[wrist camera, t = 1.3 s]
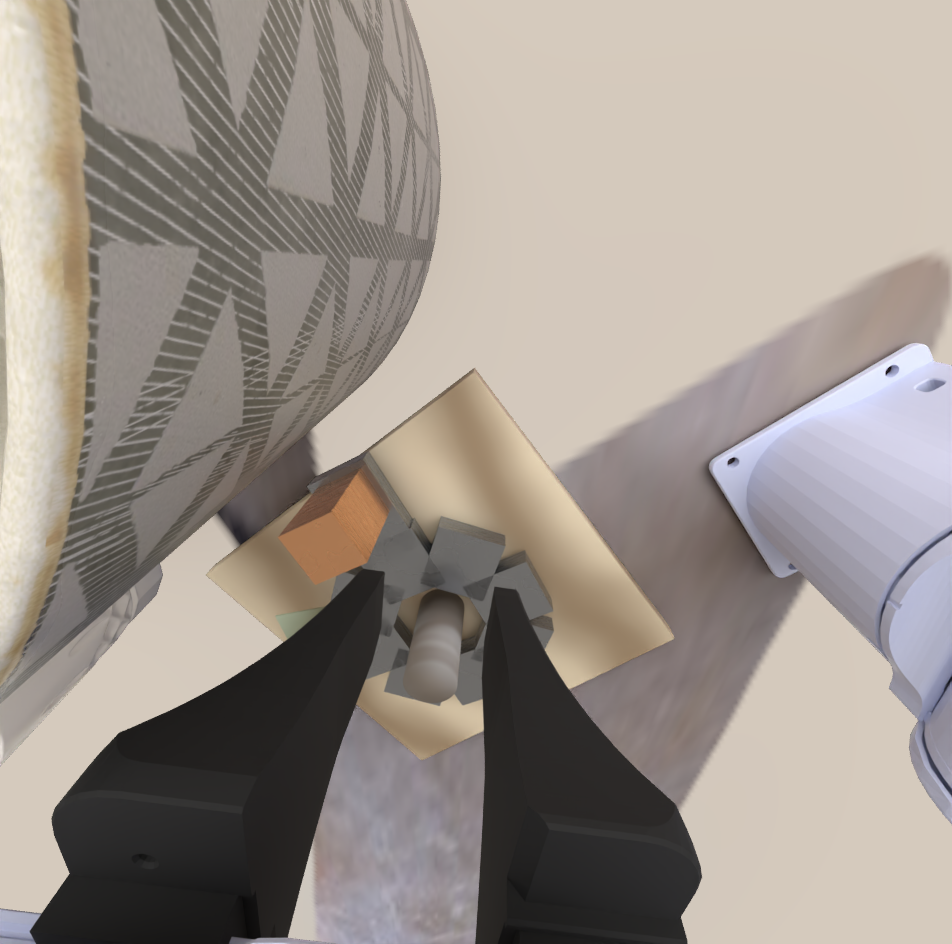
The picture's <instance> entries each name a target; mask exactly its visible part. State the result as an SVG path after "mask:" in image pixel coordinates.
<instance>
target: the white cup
mask: <svg viewBox="0 0 952 944" xmlns="http://www.w3.org/2000/svg"><path fill="white" fill-rule="evenodd" d="M162 576H163V574H162V570H161V566H160V563H159V564H158V565H157V566H156V567H155V568H154V569H152V570H151V571H150V572H149V573H148V574H147V575H146V576H144V577H143V578H142V579H141V580H140V581H139V582H138V583H137V584H135V585H134V586H133V587H132V588H131V589H130V590H129V591H127V592H126V593H125V594H124V595H123V596H122V597H121V598H120V599H118V600H117V601H116V602H115V603H114V604H113V605H112V606H110V607H109V608H108V609H107V610H106V611H105V612H104V613H103V614H101V615H100V616H99V617H98V618H97V619H96V620H95V621H94V622H92V623H91V624H90V625H89V626H88V627H87V628H86V629H84V630H83V631H82V632H81V633H80V634H79V635H78V636H77V637H75V638H74V639H73V640H72V641H71V642H70V643H69V644H67V645H66V646H65V647H64V648H63V649H62V650H61V651H60V652H58V653H57V654H56V655H55V656H54V657H53V658H52V659H50V660H49V661H48V662H47V663H46V664H45V665H44V666H43V667H41V668H40V669H39V670H38V671H37V672H36V673H35V674H33V675H32V676H31V677H30V678H29V679H28V680H27V681H26V682H24V683H23V684H22V685H21V686H20V687H19V688H18V689H16V690H15V691H14V692H13V693H12V694H11V695H10V696H9V697H7V698H6V699H5V700H4V701H3V702H2V703H1V704H0V766H1V765H2V764H3V763H4V762H5V761H6V760H7V759H8V757H9V756H10V755H11V754H12V753H13V752H14V751H15V750H16V749H17V748H18V747H19V745H21V743H22V742H23V741H24V740H25V739H26V738H27V737H28V736H29V735H30V734H31V733H32V732H33V731H34V729H35V728H36V727H37V726H38V725H39V724H40V723H41V722H42V721H43V720H44V719H45V718H46V717H47V715H48V714H49V713H50V712H51V711H52V710H53V709H54V708H55V707H56V706H57V705H58V703H60V702H61V700H62V699H63V698H64V697H65V696H66V695H67V694H68V693H69V692H70V691H71V690H72V689H73V688H74V686H75V685H76V684H77V683H78V682H79V681H80V680H81V679H82V678H83V677H84V676H85V675H86V674H87V673H88V671H89V670H90V669H91V668H92V667H93V666H94V665H95V663H96V662H97V661H98V659H99V658H100V657H101V656H102V655H103V654H104V653H105V652H106V651H107V650H108V649H109V648H110V647H111V646H112V644H113V643H114V642H115V641H116V640H117V639H118V637H119V636H120V635H121V633H122V632H123V631H124V629H125V628H126V626H127V625H128V624H129V623H130V622H131V621H132V620H133V619H134V618H135V617H136V616H137V615H138V614H139V613H140V612H141V610H142V609H143V608H144V607H145V606H146V605H147V604H148V603H149V602H150V601H151V600H152V599H153V598H154V597H155V595H156V594H157V592H158V589H159V585H160V582H161V579H162Z"/></svg>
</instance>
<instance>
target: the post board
mask: <svg viewBox="0 0 952 944" xmlns="http://www.w3.org/2000/svg"><path fill="white" fill-rule="evenodd" d="M367 451H369V452H370V453H371V455H372V456H373V458H374V460H375V461H376V463H377V464H378V466H379V467H380V469H381V470H382V472H383V474H384V475H385V477H386V478H387V480H388V481H389V483H390V484H391V486H392V488H393V489H394V491H395V492H396V494H397V495H398V497H399V498H400V500H401V502H402V503H403V505H404V506H405V508H406V509H407V511H408V512H409V514H410V516H411V517H412V518H414V517H415V519H416V521H417V522H418V524H419V525H420V527H421V528H422V530H423V531H424V533H425V535H426V536H427V538H428V539H429V541H430V542H431V544H432V542H433V539H434V536H435V533H436V530H437V527H438V524H439V521H440V518H441V516H443V517H446V518H450V519H453V520H456V521H460V522H463V523H466V524H470V525H473V526H477V527H480V528H483V529H487V530H490V531H493V532H497V533H500V534H503V535H505V544H506V547H505V549H504V551H503V554H502V556H501V559H500V560H502V559H504V558H507V557H509V556H512V555H514V554H516V553H519V552H521V551H524V550H525V551H526V553H527V555H528V557H529V558H530V560H531V562H532V564H533V566H534V567H535V569H536V571H537V573H538V575H539V577H540V578H541V580H542V582H543V584H544V586H545V587H546V589H547V591H548V593H549V595H550V596H551V599H552V605H553V612H550V613H547V614H545V615H544V616H548V617H551V618H552V622H553V628H554V632H553V634H552V636H551V638H550V640H549V642H548V644H547V646H546V648H545V651H546V653H547V655H548V657H549V659H550V660H551V662H552V664H553V665H554V667H555V669H556V670H557V672H558V674H559V675H560V677H561V678H562V680H563V681H564V683H565V684H566V686H567V687H568V689H571V688H573V687H575V686H578V685H580V684H582V683H584V682H586V681H588V680H590V679H592V678H594V677H596V676H598V675H600V674H602V673H605V672H607V671H609V670H611V669H613V668H615V667H617V666H619V665H621V664H623V663H625V662H627V661H629V660H631V659H634V658H636V657H638V656H640V655H642V654H644V653H646V652H648V651H650V650H652V649H654V648H656V647H658V646H661V645H663V644H665V643H667V642H669V641H671V640H673V639H675V638H674V636H673V634H672V631H671V629H670V627H669V625H668V624H667V623H666V621H665V620H664V619H663V617H662V616H661V615H660V613H659V612H658V611H657V609H656V608H655V607H654V605H653V604H652V603H651V601H650V600H649V599H648V597H647V596H646V595H645V593H644V592H643V591H642V589H641V588H640V587H639V585H638V584H637V583H636V581H635V580H634V579H633V578H632V576H631V575H630V574H629V572H628V571H627V570H626V568H625V567H624V566H623V564H622V563H621V562H620V560H619V559H618V558H617V556H616V555H615V554H614V552H613V551H612V550H611V548H610V547H609V546H608V544H607V543H606V542H605V540H604V539H603V538H602V536H601V535H600V534H599V532H598V531H597V530H596V528H595V527H594V526H593V524H592V523H591V522H590V520H589V519H588V518H587V516H586V515H585V514H584V512H583V511H582V510H581V508H580V507H579V506H578V505H577V503H576V502H575V501H574V499H573V498H572V497H571V495H570V494H569V493H568V491H567V490H566V489H565V487H564V486H563V485H562V483H561V482H560V481H559V479H558V478H557V477H556V475H555V474H554V473H553V471H552V470H551V469H550V467H549V466H548V465H547V464H546V462H545V461H544V460H543V458H542V457H541V455H540V454H539V453H538V451H537V450H536V449H535V447H534V446H533V445H532V443H531V442H530V441H529V439H528V438H527V437H526V436H525V434H524V433H523V431H522V430H521V429H520V428H519V426H518V425H517V424H516V422H515V421H514V420H513V418H512V417H511V416H510V414H509V413H508V412H507V410H506V409H505V408H504V406H503V405H502V404H501V402H500V401H499V400H498V398H497V397H496V396H495V394H494V393H493V392H492V390H491V389H490V388H489V386H488V385H487V384H486V382H485V381H484V380H483V378H482V377H481V376H480V374H479V373H478V372H477V370H476V369H475V368H474V369H472V370H471V371H470V372H469V373H467V374H466V375H465V376H463V377H462V378H461V379H459V380H458V381H457V382H455V383H454V384H453V385H451V386H450V387H449V388H447V389H446V390H445V391H443V392H442V393H441V394H439V395H438V396H437V397H435V398H434V399H433V400H432V401H430V402H429V403H428V404H426V405H425V406H424V407H422V408H421V409H420V410H418V411H417V412H416V413H414V414H413V415H412V416H410V417H409V418H408V419H407V420H405V421H404V422H403V423H401V424H400V425H399V426H397V427H396V428H395V429H393V430H392V431H391V432H389V433H388V434H387V435H385V436H384V437H383V438H381V439H380V440H379V441H378V442H376V443H375V444H373V445H372V446H371V447H370V448H368V449H367V450H366V451H364V452H363V453H365V452H367ZM363 453H362V454H363ZM360 455H361V454H360ZM311 495H312V493H311V492H310V493H309V494H307V495H306V496H305V497H304V498H302V499H301V500H300V501H298V502H297V503H296V504H294V505H293V506H292V507H290V508H289V509H288V510H286V511H285V512H284V513H282V514H281V515H280V516H278V517H277V518H276V519H275V520H273V521H272V522H271V523H269V524H268V525H267V526H265V527H264V528H263V529H261V530H260V531H259V532H257V533H256V534H255V535H253V536H252V537H251V538H249V539H248V540H247V541H245V542H244V543H243V544H242V545H240V546H239V547H238V548H236V549H235V550H234V551H232V552H231V553H230V554H228V555H227V556H226V557H225V558H223V559H222V560H221V561H219V562H218V563H216V564H215V566H213V568H212V569H211V570H210V571H209V572H208V573H207V574H206V576H207V577H208V578H210V579H211V580H212V581H213V582H214V583H215V584H217V585H218V586H219V587H220V588H221V589H222V590H224V591H225V592H226V593H227V594H228V595H229V596H231V597H232V598H233V599H234V600H235V601H236V602H238V603H239V604H240V605H241V606H242V607H243V608H245V609H246V610H247V611H248V612H249V613H250V614H252V615H253V616H254V617H255V618H256V619H258V620H259V621H260V622H261V623H262V624H263V625H264V626H266V627H267V628H268V629H269V630H270V631H271V632H273V633H274V634H275V635H276V636H277V637H278V638H280V639H281V640H282V641H283V642H284V641H286V640H287V639H288V638H290V637H291V636H292V635H293V634H294V633H296V632H297V631H298V630H299V629H300V628H302V627H303V626H304V625H305V624H306V623H308V622H309V621H310V620H311V619H312V618H313V617H314V616H316V615H317V614H318V613H319V612H320V611H321V610H322V609H323V608H324V607H325V606H326V605H327V604H328V603H329V602H330V601H331V597H332V593H333V588H334V584H335V580H336V576H335V577H333V578H330V579H328V580H326V581H324V582H321V583H319V584H317V585H315V584H314V583H313V582H312V580H311V579H310V578H309V577H308V575H307V574H306V573H305V571H304V570H303V569H302V568H301V566H300V565H299V564H298V563H297V561H296V560H295V559H294V557H293V556H292V555H291V554H290V552H289V551H288V550H287V549H286V547H285V546H284V545H283V543H282V542H281V541H280V540H279V538H278V536H279V535H280V534H281V532H282V531H283V530H284V529H285V527H286V526H287V525H288V524H289V522H290V521H291V520H292V519H293V518H294V516H295V515H296V514H297V513H298V511H299V510H300V509H301V508H302V506H303V505H304V504H305V503H306V501H307V500H308V499H309V498H310V496H311ZM398 616H399V617H400V618H401V620H402V621H403V622H404V624H405V625H406V627H407V628H408V629H409V631H410V632H411V634H412V635H413V637H412V642H411V646H410V651H409V655H408V659H407V664H406V668H405V673H404V677H403V686H404V688H405V690H406V692H407V693H408V694H409V695H410V696H412V697H413V698H415V699H417V700H414V699H410V698H406V697H402V696H398V695H394V694H391V693H387V692H384V689H385V685H386V682H387V678H388V675H389V672H390V671H388V672H386V673H383V674H380V675H377V676H375V677H372V678H369V679H366V680H365V682H364V685H363V688H362V690H361V693H360V695H359V698H358V701H357V703H356V705H358V706H359V707H360V708H361V709H362V710H363V711H365V712H366V713H367V714H368V715H369V716H370V717H372V718H373V719H374V720H375V721H376V722H377V723H379V724H380V725H381V726H382V727H383V728H384V729H386V730H387V731H388V732H389V733H390V734H391V735H393V736H394V737H395V738H396V739H397V740H398V741H400V742H401V743H402V744H403V745H404V746H405V747H407V748H408V749H409V750H410V751H411V752H412V753H414V754H415V755H416V756H417V757H418V758H419V759H421V760H424V759H426V758H428V757H430V756H432V755H434V754H436V753H439V752H441V751H443V750H445V749H447V748H449V747H451V746H453V745H455V744H457V743H459V742H461V741H463V740H466V739H468V738H470V737H472V736H474V735H476V734H478V733H480V732H482V731H484V722H483V699H481V700H478V701H475V702H472V703H469V704H466V705H462V704H461V703H460V701H459V700H458V699H457V697H456V696H455V694H454V693H455V692H456V689H457V683H458V672H459V662H460V651H461V641H462V640H465V639H468V638H470V637H473V636H476V634H477V632H478V629H479V627H480V624H481V622H482V620H483V619H482V617H481V615H480V614H479V612H478V611H477V609H476V608H475V606H474V604H473V603H472V601H471V600H470V598H469V597H465V596H462V595H458V594H454V593H451V592H447V591H444V590H440V589H437V588H432V589H429V590H427V591H424V592H422V593H419V594H417V595H414V596H412V597H409V598H407V599H404V600H402V602H401V605H400V608H399V611H398ZM418 700H419V701H418ZM421 701H422V702H421ZM425 702H426V703H425ZM439 702H441V705H440V706H437V705H433V704H429V703H439Z"/></svg>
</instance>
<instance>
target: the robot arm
mask: <svg viewBox="0 0 952 944" xmlns="http://www.w3.org/2000/svg"><path fill="white" fill-rule="evenodd" d="M889 366H892V369H891V371H890V372H889V373H888V374H887V375H885V372H886V370H887V368H888V367H889ZM733 457H735V461H734V462H733V463H732V464H729V465H728V464H727V462H728V460H729V459H730V458H733ZM709 470H710V472H711V474H712V476H713V477H714V479H715V481H716V482H717V484H718V485H719V487H720V489H721V490H722V492H723V494H724V495H725V497H726V498H727V500H728V502H729V503H730V505H731V507H732V508H733V510H734V511H735V513H736V515H737V516H738V518H739V520H740V521H741V523H742V524H743V526H744V528H745V529H746V531H747V533H748V534H749V536H750V537H751V539H752V541H753V542H754V544H755V546H756V547H757V549H758V550H759V552H760V554H761V555H762V557H763V559H764V560H765V562H766V564H767V565H768V567H769V568H770V570H771V571H772V573H773V574H774V575H775V576H776V577H779V578H784V577H787V576H789V575H791V574H793V573H796V572H798V571H799V572H800V573H801V574H802V575H803V576H804V577H805V578H806V579H807V580H808V581H809V582H810V583H811V584H812V585H813V586H814V587H815V588H816V589H817V590H818V591H819V592H820V593H821V594H822V595H823V596H824V597H825V598H826V599H827V600H828V601H829V602H830V603H831V604H832V605H833V606H834V607H835V608H836V609H837V610H838V611H839V612H840V613H841V614H842V615H843V616H844V617H845V618H846V619H847V620H848V621H849V622H850V623H851V624H852V625H853V626H854V627H855V628H856V629H857V630H858V631H859V632H860V633H861V634H862V635H863V636H864V637H865V638H866V639H867V640H868V641H869V643H871V645H872V646H873V647H875V648H876V650H877V651H879V653H880V654H882V656H883V657H884V658H885V659H886V660H887V661H888V662H889V663H890V664H891V666H892V669H893V678H892V681H891V683H890V686H889V689H890V690H891V691H892V692H893V693H894V694H895V695H896V696H897V698H898V699H899V700H900V701H901V702H902V703H903V704H904V705H905V706H906V707H907V708H908V709H909V710H910V712H912V714H913V715H915V717H916V718H917V719H918V722H917V723H916V725H915V727H914V729H913V731H912V733H911V735H910V745H909V750H910V755H911V761H912V764H913V766H914V769H915V771H916V773H917V776H918V778H919V780H920V781H921V783H922V785H923V786H924V788H925V790H926V792H927V793H928V795H929V796H930V798H931V799H932V800H933V802H934V803H935V804H936V806H937V807H938V808H939V810H940V811H941V812H942V814H943V815H944V816H945V817H946V818H947V819H948V820H949V821H950V823H951V824H952V365H948V364H944V363H939V362H935V361H934V360H933V357H932V355H931V352H930V349H929V348H928V347H927V346H926V345H924V344H919V343H911V344H909V345H907V346H905V347H903V348H901V349H900V350H898V351H896V352H895V353H893V354H891V355H889V356H888V357H886V358H884V359H883V360H881V361H879V362H877V363H876V364H874V365H872V366H871V367H869V368H867V369H866V370H864V371H862V372H860V373H859V374H857V375H855V376H854V377H852V378H850V379H848V380H847V381H845V382H843V383H842V384H840V385H838V386H836V387H835V388H833V389H831V390H830V391H828V392H826V393H824V394H823V395H821V396H819V397H818V398H816V399H814V400H813V401H811V402H809V403H807V404H806V405H804V406H802V407H801V408H799V409H797V410H795V411H794V412H792V413H790V414H789V415H787V416H785V417H783V418H782V419H780V420H778V421H777V422H775V423H773V424H771V425H770V426H768V427H766V428H765V429H763V430H761V431H760V432H758V433H756V434H754V435H753V436H751V437H749V438H748V439H746V440H744V441H742V442H741V443H739V444H737V445H736V446H734V447H732V448H730V449H729V450H727V451H725V452H724V453H722V454H720V455H718V456H717V457H715V458H714V459H713V460H711V462H710V464H709ZM790 563H791V565H789V564H790ZM384 578H385V572H384V571H377V570H369V569H362V570H361V571H359V572H358V573H357V575H356V576H355V577H354V578H353V579H352V580H351V581H350V582H349V583H348V584H347V585H346V586H345V587H344V589H343V590H342V591H341V592H340V593H339V594H338V595H337V596H336V597H335V598H334V599H333V600H332V601H330V602H329V603H328V604H327V605H326V606H325V607H324V608H323V609H322V610H321V611H320V612H319V613H318V614H317V615H316V616H314V617H313V618H312V619H311V620H310V621H309V622H308V623H306V624H305V625H304V626H303V627H302V628H300V629H299V630H298V631H297V632H296V633H294V634H293V635H292V636H291V637H290V638H288V639H287V640H286V641H284V642H283V643H282V644H281V645H279V646H278V647H277V648H275V649H274V650H272V651H271V652H270V653H268V654H267V655H265V656H264V657H263V658H261V659H260V660H258V661H257V662H255V663H254V664H252V665H251V666H249V667H248V668H246V669H245V670H243V671H241V672H240V673H238V674H237V675H235V676H234V677H232V678H231V679H229V680H227V681H225V682H224V683H222V684H220V685H218V686H217V687H215V688H213V689H211V690H209V691H208V692H205V693H204V694H202V695H200V696H198V697H196V698H194V699H192V700H190V701H188V702H186V703H184V704H182V705H180V706H178V707H176V708H174V709H172V710H170V711H168V712H166V713H163V714H161V715H159V716H157V717H154V718H152V719H150V720H148V721H145V722H143V723H141V724H139V725H137V726H134V727H132V728H130V729H127V730H125V731H122V732H120V733H118V734H117V736H116V737H115V738H114V739H113V740H112V741H111V742H110V743H109V744H108V745H107V746H106V747H105V748H104V749H103V750H102V752H100V754H99V755H98V756H97V757H96V758H95V759H94V761H93V762H92V763H91V764H90V765H89V766H88V768H87V769H86V770H85V771H84V773H83V774H82V775H81V776H80V778H79V779H78V780H77V781H76V783H75V784H74V785H73V786H72V787H71V789H70V790H69V791H68V792H67V794H66V795H65V796H64V797H63V799H62V800H61V801H60V803H59V804H58V805H57V806H56V807H55V809H54V812H53V816H52V826H53V831H54V836H55V838H56V841H57V843H58V846H59V848H60V851H61V853H62V856H63V858H64V861H65V863H66V866H67V868H68V870H69V873H70V874H69V876H68V877H67V878H66V880H65V881H64V883H63V884H62V885H61V887H60V888H59V890H58V891H57V893H56V894H55V895H54V897H53V898H52V900H51V901H50V903H49V904H48V905H47V907H46V908H45V910H44V911H43V913H42V914H41V913H32V912H25V911H16V910H8V909H0V944H334V943H326V942H318V941H310V940H300V939H293V938H288V934H289V930H290V926H291V922H292V918H293V914H294V910H295V906H296V902H297V898H298V895H299V891H300V887H301V883H302V879H303V876H304V872H305V868H306V864H307V861H308V857H309V853H310V849H311V846H312V842H313V838H314V835H315V831H316V827H317V824H318V820H319V817H320V813H321V809H322V806H323V802H324V799H325V795H326V792H327V788H328V785H329V781H330V778H331V774H332V771H333V767H334V764H335V760H336V757H337V754H338V751H339V748H340V745H341V742H342V739H343V737H344V734H345V731H346V729H347V726H348V724H349V721H350V719H351V716H352V713H353V711H354V708H355V706H356V703H357V701H358V698H359V695H360V693H361V690H362V688H363V685H364V682H365V680H366V677H367V675H368V672H369V669H370V667H371V664H372V661H373V657H374V654H375V650H376V646H377V642H378V639H379V635H380V631H381V624H382V609H383V594H384ZM482 697H483V722H484V746H485V785H484V806H483V826H482V844H481V863H480V879H479V896H478V913H477V928H476V943H475V944H687V938H686V935H685V931H684V927H683V923H682V920H681V915H682V914H683V912H684V911H685V909H686V907H687V906H688V904H689V903H690V901H691V899H692V898H693V896H694V894H695V893H696V890H697V889H698V886H699V884H700V881H701V878H702V875H701V867H700V863H699V861H698V857H697V854H696V851H695V849H694V846H693V843H692V841H691V838H690V836H689V833H688V831H687V828H686V827H685V824H684V822H683V820H682V817H681V815H680V813H679V811H678V809H677V806H676V805H675V803H673V802H672V801H671V800H670V799H669V798H668V797H667V796H666V795H665V794H663V793H662V792H661V791H660V790H659V789H658V788H657V787H656V786H655V785H653V784H652V783H651V782H650V781H649V780H648V779H647V778H646V777H645V776H644V775H642V774H641V773H640V772H639V771H638V770H637V769H636V768H635V767H634V766H633V765H632V764H631V763H630V762H629V761H628V760H627V759H626V758H625V757H624V756H623V755H622V754H621V753H620V752H619V751H618V750H617V749H616V747H615V746H614V745H613V744H612V743H611V742H610V741H609V739H608V738H607V737H606V736H605V735H604V734H603V733H602V731H601V730H600V729H599V728H598V727H597V726H596V724H595V723H594V722H593V721H592V720H591V718H590V717H589V716H588V715H587V713H586V712H585V711H584V709H583V708H582V707H581V706H580V704H579V703H578V701H577V700H576V699H575V697H574V696H573V694H572V693H571V692H570V690H569V689H568V687H567V686H566V684H565V683H564V681H563V680H562V678H561V677H560V675H559V674H558V672H557V670H556V669H555V667H554V665H553V664H552V662H551V660H550V659H549V657H548V655H547V653H546V651H545V650H544V648H543V646H542V644H541V642H540V640H539V638H538V636H537V634H536V632H535V630H534V628H533V626H532V624H531V622H530V620H529V617H528V615H527V613H526V611H525V608H524V606H523V603H522V600H521V598H520V595H519V593H518V591H517V590H516V589H509V588H501V587H494V592H493V597H492V602H491V608H490V613H489V618H488V624H487V629H486V634H485V640H484V650H483V665H482Z"/></svg>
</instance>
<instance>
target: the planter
mask: <svg viewBox="0 0 952 944" xmlns="http://www.w3.org/2000/svg"><path fill="white" fill-rule="evenodd" d="M440 182H441V174H440V148H439V136H438V128H437V120H436V110H435V104H434V99H433V94H432V89H431V84H430V79H429V74H428V69H427V66H426V62H425V59H424V55H423V52H422V48H421V45H420V41H419V37H418V34H417V31H416V28H415V25H414V22H413V19H412V16H411V13H410V11H409V7H408V5H407V2H406V0H0V704H1V703H2V702H3V701H4V700H5V699H6V698H7V697H9V696H10V695H11V694H12V693H13V692H14V691H15V690H16V689H18V688H19V687H20V686H21V685H22V684H23V683H24V682H26V681H27V680H28V679H29V678H30V677H31V676H32V675H33V674H35V673H36V672H37V671H38V670H39V669H40V668H41V667H43V666H44V665H45V664H46V663H47V662H48V661H49V660H50V659H52V658H53V657H54V656H55V655H56V654H57V653H58V652H60V651H61V650H62V649H63V648H64V647H65V646H66V645H67V644H69V643H70V642H71V641H72V640H73V639H74V638H75V637H77V636H78V635H79V634H80V633H81V632H82V631H83V630H84V629H86V628H87V627H88V626H89V625H90V624H91V623H92V622H94V621H95V620H96V619H97V618H98V617H99V616H100V615H101V614H103V613H104V612H105V611H106V610H107V609H108V608H109V607H110V606H112V605H113V604H114V603H115V602H116V601H117V600H118V599H120V598H121V597H122V596H123V595H124V594H125V593H126V592H127V591H129V590H130V589H131V588H132V587H133V586H134V585H135V584H137V583H138V582H139V581H140V580H141V579H142V578H143V577H144V576H146V575H147V574H148V573H149V572H150V571H151V570H152V569H154V568H155V567H156V566H157V565H158V564H159V563H160V562H161V561H163V560H164V559H165V558H166V557H167V556H168V555H169V554H171V552H173V551H174V550H175V549H176V548H177V547H178V546H180V545H181V544H182V543H183V542H184V541H185V540H186V539H188V538H189V537H190V536H191V535H192V534H193V533H194V532H195V531H197V530H198V529H199V528H200V527H201V526H202V525H203V524H205V523H206V522H207V521H208V520H209V519H210V518H211V517H212V516H214V515H215V514H216V513H217V512H218V511H219V510H220V509H222V508H223V507H224V506H225V505H226V504H227V503H228V502H229V501H231V500H232V499H233V498H234V497H235V496H236V495H237V494H239V493H240V492H241V491H242V490H243V489H244V488H245V487H246V486H248V485H249V484H250V483H251V482H252V481H253V480H254V479H255V478H257V477H258V476H259V475H260V474H261V473H262V472H263V471H265V470H266V469H267V468H268V467H269V466H270V465H271V464H272V463H274V462H275V461H276V460H277V459H278V458H279V457H280V456H282V455H283V454H284V453H285V452H286V451H287V450H288V449H289V448H291V447H292V446H293V445H294V444H295V443H296V442H297V441H299V440H300V439H301V438H302V437H303V436H304V435H305V434H306V433H308V432H309V431H310V430H311V429H312V428H313V427H314V426H316V425H317V424H318V423H319V422H320V421H321V420H322V419H323V418H325V417H326V416H327V415H328V414H329V413H330V412H331V411H333V410H334V409H335V408H336V407H337V406H338V405H339V404H340V403H342V402H343V401H344V400H345V399H346V398H347V397H348V396H350V395H351V393H353V392H354V391H355V390H356V389H357V388H358V387H359V386H360V385H362V384H363V383H364V382H365V381H366V380H367V379H368V378H369V377H370V376H371V375H372V374H373V372H374V371H375V370H376V369H377V368H378V367H379V365H380V364H381V363H382V362H383V361H384V360H385V358H386V357H387V355H388V354H389V353H390V351H391V350H392V348H393V347H394V346H395V344H396V343H397V341H398V339H399V338H400V336H401V334H402V332H403V331H404V329H405V327H406V325H407V323H408V321H409V319H410V317H411V315H412V313H413V311H414V308H415V306H416V304H417V302H418V299H419V297H420V294H421V291H422V288H423V285H424V282H425V278H426V276H427V273H428V269H429V264H430V261H431V256H432V252H433V247H434V243H435V237H436V230H437V223H438V215H439V202H440Z"/></svg>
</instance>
